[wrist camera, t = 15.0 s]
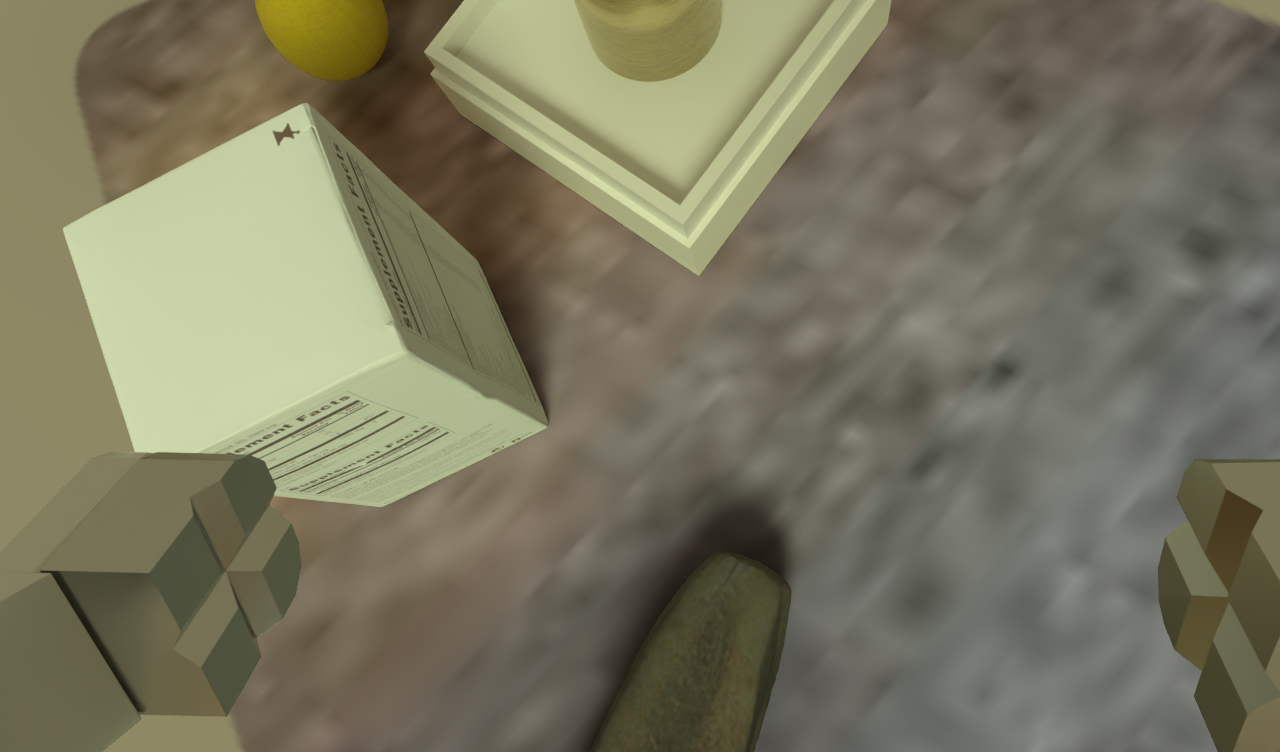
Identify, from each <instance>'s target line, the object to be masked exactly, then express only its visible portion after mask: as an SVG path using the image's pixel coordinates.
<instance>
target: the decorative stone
mask: <svg viewBox="0 0 1280 752" xmlns="http://www.w3.org/2000/svg"><path fill="white" fill-rule="evenodd" d="M790 602H791V588H790V586H789V584H788V582H786V581H785V579H784V578H782V577H781V576H780V575H779V574H777V573H776V572H774V571H773V570H772V569H770V568H768V567H767V566H766V565H764V564H762V563H761V562H758V561H756V560H754V559H751V558H748V557H746V556H743V555H740V554H737V553H732V552H727V551H717V552H715V553H713V554H711V555H709V556H708V557H707V558H706V559H705V560H704V561H703V562H702V563H701V564H700V565H699V566H698V567H697V568H696V569H695V570H694V571H693V573H692V574H691V575H690V576H689V577H688V579H687V580H686V581H685V582H684V583H683V585H682V586H681V587H680V588H679V590H678V591H677V592H676V594H675V595H674V597H673V598H672V599H671V601H670V602H669V603H668V605H667V606H666V607H665V609H664V610H663V612H662V613H661V614H660V616H659V618H658V619H657V621H656V622H655V624H654V625H653V627H652V629H651V630H650V632H649V634H648V635H647V637H646V638H645V640H644V642H643V644H642V646H641V647H640V649H639V651H638V653H637V655H636V657H635V659H634V661H633V662H632V664H631V666H630V668H629V670H628V672H627V674H626V676H625V678H624V680H623V682H622V684H621V686H620V688H619V691H618V693H617V694H616V697H615V699H614V701H613V703H612V705H611V707H610V709H609V711H608V713H607V715H606V717H605V719H604V722H603V724H602V726H601V728H600V730H599V732H598V735H597V737H596V739H595V741H594V743H593V745H592V748H591V750H590V752H754V750H755V746H756V742H757V740H758V737H759V734H760V730H761V726H762V723H763V719H764V715H765V712H766V709H767V706H768V703H769V699H770V695H771V690H772V688H773V685H774V683H775V679H776V674H777V671H778V668H779V663H780V658H781V654H782V650H783V646H784V640H785V633H786V626H787V621H788V613H789V607H790Z"/></svg>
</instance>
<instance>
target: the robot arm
mask: <svg viewBox="0 0 1280 752" xmlns="http://www.w3.org/2000/svg"><path fill="white" fill-rule="evenodd" d="M276 489H277V487H276V485H275V483H274V481H273V478H272V476H271V474H270V472H269V470H268V468H267V465H266V463H265V461H263V460H261V459H258V458H256V457H254V456H251V455H244V454H209V453H174V452H156V453H148V452H108V453H105V454H102V455H99V456H96V457H93V458H91V459H90V461H88V463H87V464H86V465H85V466H84V467H83V468H82V469H81V470H80V471H79V472H78V473H77V474H76V475H75V476H74V477H73V478H72V479H71V480H70V481H69V482H68V483H67V484H66V485H65V486H64V487H63V488H62V489H61V490H60V491H59V492H58V493H57V495H56V496H55V497H54V498H53V499H52V500H51V501H50V502H49V503H48V504H47V505H46V506H45V507H44V508H43V509H42V510H41V511H40V512H39V513H38V514H37V515H36V516H35V517H34V518H33V519H32V520H31V521H30V522H29V523H28V524H27V525H26V526H25V527H24V528H23V530H22V531H21V532H20V533H19V534H18V535H17V536H16V537H15V538H14V539H13V540H12V541H11V542H10V543H9V544H8V545H7V546H6V547H5V548H4V549H3V550H2V551H1V552H0V752H103V751H104V750H105V749H107V748H108V747H109V746H110V745H111V744H112V743H114V742H115V741H116V740H117V739H119V738H120V737H121V736H122V735H123V734H124V733H125V732H127V731H128V730H129V729H130V728H132V727H133V726H134V725H135V724H136V723H138V722H139V721H140V720H141V717H140V715H143V714H144V715H183V716H225V717H227V715H228V714H229V712H230V710H231V708H232V707H233V705H234V703H235V701H236V700H237V698H238V696H239V694H240V693H241V691H242V689H243V688H244V686H245V684H246V682H247V681H248V679H249V677H250V675H251V674H252V672H253V670H254V668H255V667H256V665H257V663H258V661H259V660H260V658H261V654H260V650H259V645H258V641H257V637H258V636H259V635H261V634H262V633H264V632H265V631H266V630H268V629H269V628H271V627H272V626H273V625H275V624H276V623H278V622H279V621H281V620H282V619H283V617H284V616H285V614H286V612H287V610H288V608H289V606H290V604H291V602H292V601H293V599H294V597H295V595H296V590H297V585H298V580H299V575H300V570H301V558H300V549H299V542H298V539H297V537H296V534H295V531H294V529H293V526H292V524H291V522H289V521H288V520H287V519H286V518H284V517H283V516H282V515H281V514H279V513H278V512H277V511H276V510H275V509H273V508H272V507H271V506H270V502H271V500H272V498H273V496H274V493H275V491H276ZM1177 499H1178V501H1179V503H1180V505H1181V507H1182V509H1183V511H1184V513H1185V515H1186V517H1187V519H1188V521H1187V522H1185V523H1184V524H1183V525H1181V526H1180V527H1179V528H1178V529H1176V530H1175V531H1174V532H1172V533H1171V534H1170V535H1168V536H1167V537H1166V538H1165V541H1164V546H1163V550H1162V554H1161V558H1160V562H1159V567H1158V587H1159V603H1160V608H1161V612H1162V616H1163V621H1164V625H1165V627H1166V630H1167V632H1168V635H1169V637H1170V640H1171V642H1172V645H1173V647H1174V650H1175V651H1177V652H1178V653H1179V654H1180V655H1182V656H1183V657H1184V658H1186V659H1187V660H1188V661H1189V662H1191V663H1192V664H1193V665H1195V666H1196V667H1197V668H1199V669H1200V670H1201V671H1202V673H1201V676H1200V679H1199V682H1198V685H1197V688H1196V691H1195V694H1194V697H1195V700H1196V702H1197V704H1198V707H1199V709H1200V711H1201V714H1202V716H1203V718H1204V721H1205V723H1206V725H1207V728H1208V730H1209V732H1210V735H1211V737H1212V739H1213V742H1214V744H1215V746H1216V748H1217V751H1218V752H1280V459H1194V461H1193V462H1192V464H1191V465H1190V466H1189V468H1188V469H1187V470H1186V472H1185V473H1184V476H1183V479H1182V482H1181V486H1180V489H1179V492H1178V495H1177Z"/></svg>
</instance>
